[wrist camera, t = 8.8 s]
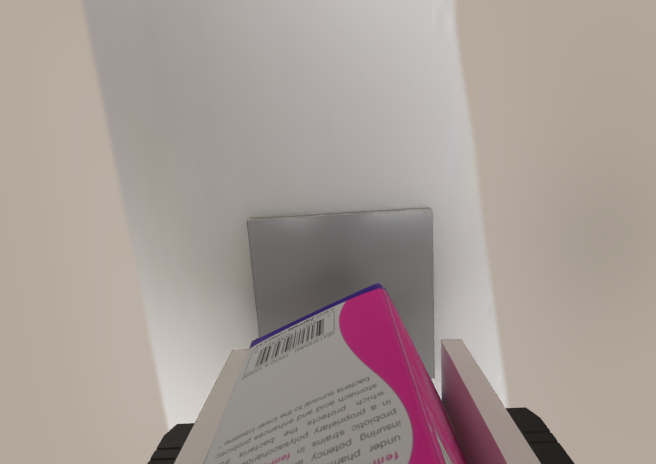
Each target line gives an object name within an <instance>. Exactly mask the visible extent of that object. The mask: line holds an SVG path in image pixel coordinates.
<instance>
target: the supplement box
mask: <svg viewBox="0 0 656 464" xmlns="http://www.w3.org/2000/svg"><path fill="white" fill-rule="evenodd" d="M204 464H467V463H466V460H465V458H464V455H463V453H462V450H461V448H460V446H459V443H458V441H457V438H456V436H455V433H454V431H453V428H452V426H451V423H450V421H449V418H448V416H447V413H446V411H445V408H444V406H443V403H442V401H441V399H440V397H439V395H438V393H437V391H436V389H435V387H434V385H433V383H432V381H431V378H430V376H429V374H428V372H427V370H426V368H425V366H424V364H423V362H422V360H421V358H420V356H419V354H418V352H417V350H416V348H415V346H414V344H413V342H412V340H411V338H410V336H409V334H408V332H407V330H406V328H405V326H404V324H403V322H402V320H401V318H400V316H399V314H398V312H397V310H396V308H395V306H394V304H393V302H392V300H391V299H390V297H389V295H388V293H387V291H386V289H385V287H384V286H383V285H382V284H380V283H377V284H374V285H371V286H369V287H366V288H364V289H362V290H360V291H358V292H356V293H354V294H351V295H349V296H347V297H345V298H343V299H340V300H338V301H336V302H334V303H331V304H329V305H327V306H325V307H323V308H321V309H319V310H317V311H315V312H313V313H311V314H308V315H306V316H304V317H302V318H300V319H298V320H296V321H293V322H291V323H289V324H287V325H285V326H283V327H281V328H279V329H277V330H275V331H273V332H271V333H269V334H267V335H264V336H262V337H260V338H258V339H256V340H254V341H252V342H251V345H250V349H249V351H248V354H247V356H246V359H245V361H244V364H243V367H242V369H241V372H240V374H239V377H238V379H237V382H236V384H235V387H234V389H233V392H232V394H231V397H230V400H229V402H228V404H227V406H226V409H225V412H224V414H223V417H222V419H221V422H220V425H219V427H218V430H217V432H216V435H215V437H214V440H213V442H212V445H211V447H210V450H209V453H208V455H207V458H206V460H205V462H204Z"/></svg>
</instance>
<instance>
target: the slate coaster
mask: <svg viewBox="0 0 656 464" xmlns="http://www.w3.org/2000/svg"><path fill="white" fill-rule="evenodd" d="M247 226H248V235H249V244H250V253H251V263H252V272H253V281H254V290H255V299H256V309H257V318H258V327H259V336H260V337H262V336H264V335H267V334H269V333H271V332H273V331H275V330H277V329H279V328H281V327H283V326H285V325H287V324H289V323H291V322H293V321H296V320H298V319H300V318H302V317H304V316H306V315H308V314H311V313H313V312H315V311H317V310H319V309H321V308H323V307H325V306H327V305H329V304H331V303H334V302H336V301H338V300H340V299H343V298H345V297H347V296H349V295H351V294H354V293H356V292H358V291H360V290H362V289H364V288H366V287H369V286H371V285H374V284H377V283H380V284H382V285H383V286H384V287H385V289H386V291H387V293H388V295H389V297H390V299H391V300H392V302H393V304H394V306H395V308H396V310H397V312H398V314H399V316H400V318H401V320H402V322H403V324H404V326H405V328H406V330H407V332H408V334H409V336H410V338H411V340H412V342H413V344H414V346H415V348H416V350H417V352H418V354H419V356H420V358H421V360H422V362H423V364H424V366H425V368H426V370H427V372H428V374H429V376H430V378H435V373H434V299H433V225H432V209H431V208H420V209H404V210H387V211H371V212H355V213H339V214H323V215H306V216H290V217H274V218H258V219H249V220H248V221H247Z"/></svg>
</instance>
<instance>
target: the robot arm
mask: <svg viewBox="0 0 656 464" xmlns="http://www.w3.org/2000/svg"><path fill="white" fill-rule="evenodd" d="M248 351H249V349H247V350H232V352H231V353H230V355H229V357H228V359H227V361H226V363H225V365H224V367H223V369H222V371H221V373H220V375H219V377H218V379H217V381H216V383H215V385H214V387H213V389H212V390H211V392H210V394H209V396H208V398H207V400H206V402H205V404H204V406H203V408H202V410H201V412H200V414H199V416H198V418H197V420H196V422H195V423H190V424H177V425H176V426H174V427H173V428H172V429H171V430H170V431H169V432H168V433H166V434H165V435H164V437H163V439H162V440H161V442H160V444H159V445H158V447H157V450H156V451H155V452H154V454H153V455H152V457H151V460H150V461H149V462H148V464H204V462H205V460H206V458H207V455H208V453H209V450H210V447H211V445H212V442H213V440H214V437H215V435H216V432H217V430H218V427H219V425H220V422H221V419H222V417H223V414H224V412H225V409H226V406H227V404H228V402H229V400H230V397H231V394H232V392H233V389H234V387H235V384H236V382H237V379H238V377H239V374H240V372H241V369H242V367H243V364H244V361H245V359H246V356H247V354H248ZM441 371H442V403H443V406H444V408H445V411H446V413H447V416H448V418H449V421H450V423H451V426H452V428H453V431H454V433H455V436H456V438H457V441H458V443H459V446H460V448H461V450H462V453H463V455H464V458H465V460H466V463H467V464H574V462H573V461H572V460H571V458H570V457H569V456H568V455H567V453H566V452H565V450H564V449H563V448H562V446H561V445H560V444H559V443H558V442H557V440H556V438H555V437H554V436H553V434H552V433H550V430H549V429H548V428H547V426H546V425H545V424H544V422H543V421H542V420H541V418H540V417H538V416H537V415H536V414H534V413H533V412H531V411H530V410H528V409H527V408H505V407H504V405H503V404H502V402H501V400H500V399H499V397H498V396H497V394H496V393H495V391H494V390H493V388H492V386H491V385H490V383H489V382H488V380H487V379H486V377H485V375H484V374H483V372H482V371H481V369H480V368H479V366H478V364H477V363H476V361H475V360H474V358H473V357H472V355H471V354H470V352H469V350H468V349H467V347H466V346H465V344H464V343H463V341H462V339H446V340H441Z"/></svg>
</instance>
